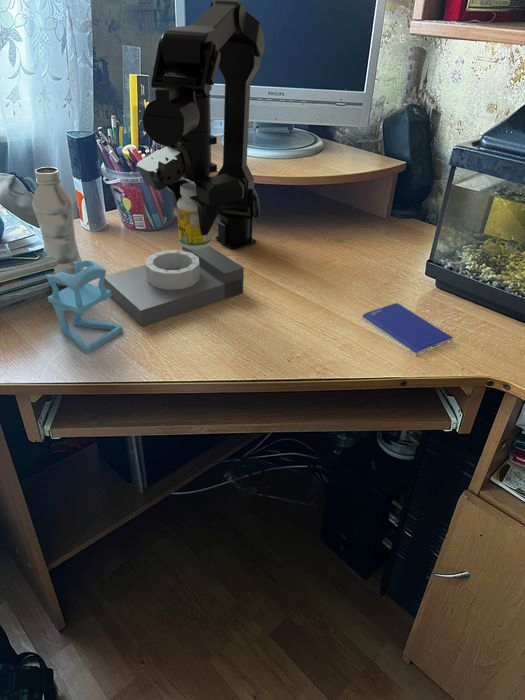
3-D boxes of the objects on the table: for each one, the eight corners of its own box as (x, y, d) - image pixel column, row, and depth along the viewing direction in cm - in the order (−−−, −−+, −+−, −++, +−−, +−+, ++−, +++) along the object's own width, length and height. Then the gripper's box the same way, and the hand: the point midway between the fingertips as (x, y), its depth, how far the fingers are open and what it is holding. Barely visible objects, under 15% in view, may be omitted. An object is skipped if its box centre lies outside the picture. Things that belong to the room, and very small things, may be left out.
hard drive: (362, 313, 91) (417, 350, 83) (397, 301, 95) (453, 335, 87) (361, 321, 92) (415, 358, 84) (396, 309, 96) (450, 344, 88)
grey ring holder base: (200, 263, 107) (200, 235, 103) (243, 292, 98) (243, 262, 94) (104, 291, 96) (100, 260, 93) (142, 326, 87) (138, 293, 84)
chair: (85, 315, 90) (73, 247, 83) (124, 330, 86) (114, 261, 79) (48, 337, 84) (32, 266, 77) (88, 354, 81) (74, 281, 74)
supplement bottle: (214, 248, 89) (214, 190, 84) (182, 251, 88) (179, 193, 82) (206, 235, 94) (205, 179, 88) (175, 238, 92) (172, 181, 86)
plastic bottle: (74, 270, 102) (55, 161, 91) (93, 283, 99) (75, 171, 87) (41, 280, 99) (17, 168, 87) (59, 294, 95) (36, 179, 83)
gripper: (111, 122, 82) (122, 221, 91) (178, 151, 70) (184, 262, 79) (175, 114, 88) (179, 208, 97) (246, 140, 76) (244, 244, 85)
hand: (194, 228), depth 89 cm, fingers closed on supplement bottle, 5 cm apart
